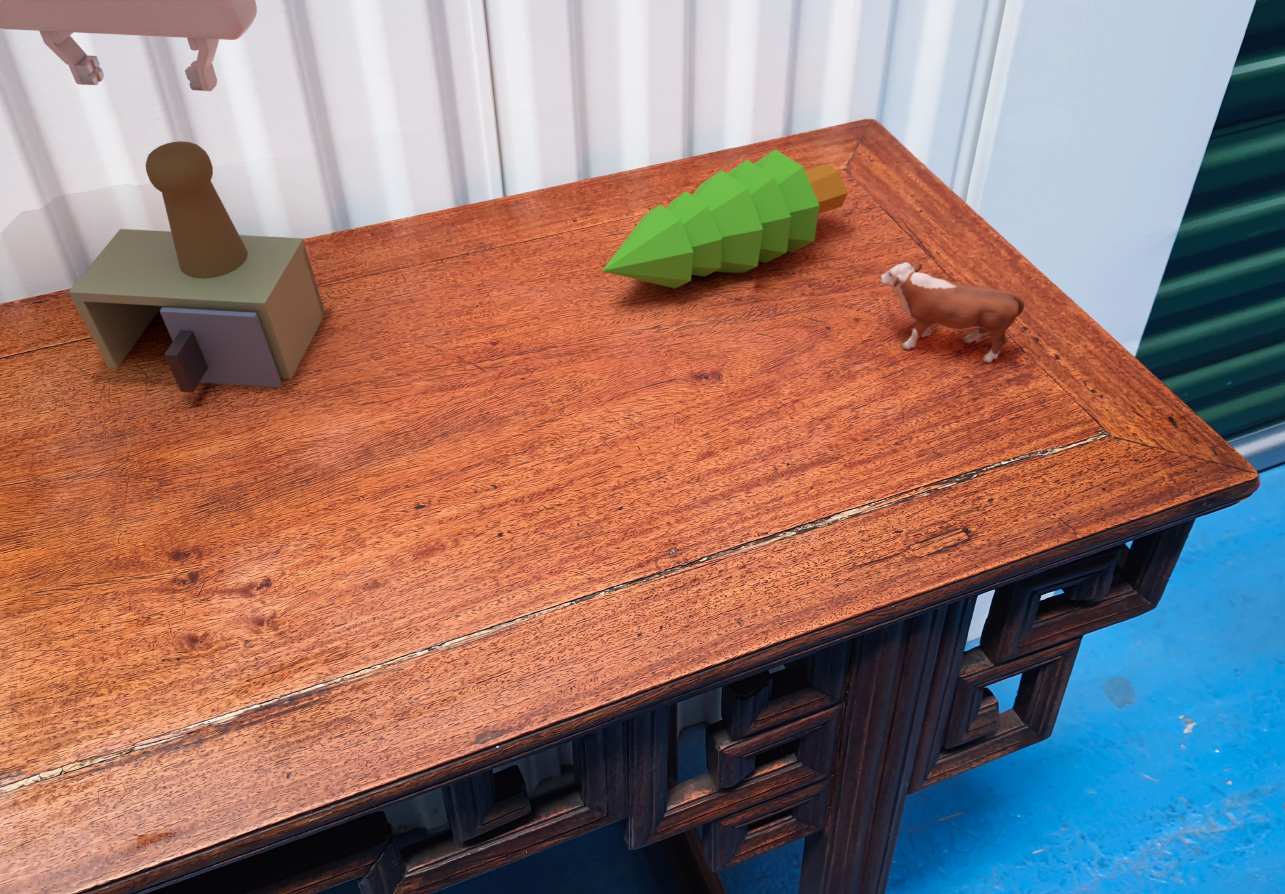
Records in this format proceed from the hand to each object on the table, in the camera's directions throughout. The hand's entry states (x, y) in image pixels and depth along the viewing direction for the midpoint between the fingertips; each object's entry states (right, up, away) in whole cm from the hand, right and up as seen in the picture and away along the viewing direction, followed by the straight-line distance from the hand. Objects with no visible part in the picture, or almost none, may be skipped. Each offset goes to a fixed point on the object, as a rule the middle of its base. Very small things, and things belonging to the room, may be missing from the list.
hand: (148, 84), depth 79 cm
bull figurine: (+69, -19, +19) cm, 73 cm away
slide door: (+1, -24, +12) cm, 27 cm away
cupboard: (-2, -19, +19) cm, 27 cm away
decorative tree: (+48, -10, +28) cm, 56 cm away
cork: (0, -12, +12) cm, 17 cm away
